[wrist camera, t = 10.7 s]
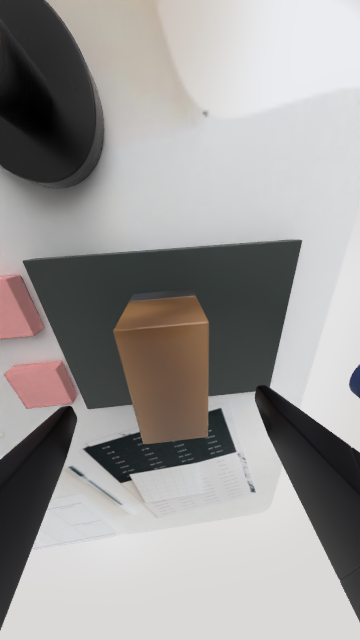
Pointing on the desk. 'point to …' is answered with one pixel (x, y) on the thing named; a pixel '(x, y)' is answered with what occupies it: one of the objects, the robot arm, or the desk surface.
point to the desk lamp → (45, 98)
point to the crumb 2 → (42, 384)
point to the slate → (168, 275)
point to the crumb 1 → (17, 309)
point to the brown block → (166, 364)
